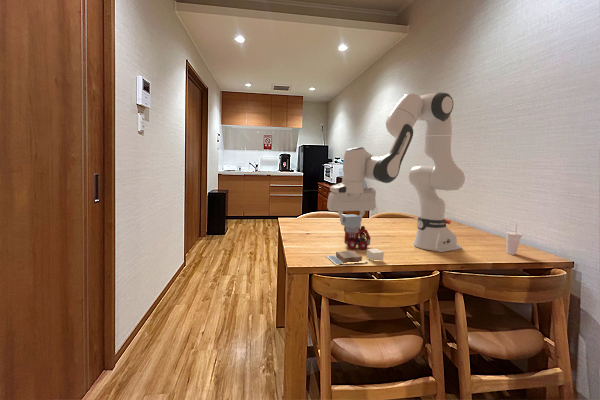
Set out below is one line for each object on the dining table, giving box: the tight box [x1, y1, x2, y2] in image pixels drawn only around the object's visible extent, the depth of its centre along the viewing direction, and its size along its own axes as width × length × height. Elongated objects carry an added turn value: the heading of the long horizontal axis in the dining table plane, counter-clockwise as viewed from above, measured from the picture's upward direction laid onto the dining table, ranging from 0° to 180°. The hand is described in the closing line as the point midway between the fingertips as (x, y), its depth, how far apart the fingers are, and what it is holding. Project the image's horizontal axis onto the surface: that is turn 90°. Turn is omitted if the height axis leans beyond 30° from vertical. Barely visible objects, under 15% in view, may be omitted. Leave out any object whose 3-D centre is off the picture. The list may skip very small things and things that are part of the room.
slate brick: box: [340, 213, 362, 228], centre depth 130 cm, size 6×6×4 cm
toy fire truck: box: [343, 225, 371, 251], centre depth 149 cm, size 7×12×10 cm, turn 90°
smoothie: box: [505, 224, 523, 256], centre depth 147 cm, size 6×6×14 cm
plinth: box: [335, 250, 363, 263], centre depth 133 cm, size 8×8×2 cm
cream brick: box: [365, 248, 385, 262], centre depth 134 cm, size 5×5×4 cm
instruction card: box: [325, 254, 344, 265], centre depth 133 cm, size 14×11×1 cm
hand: (350, 221), depth 130 cm, fingers closed on slate brick, 6 cm apart
